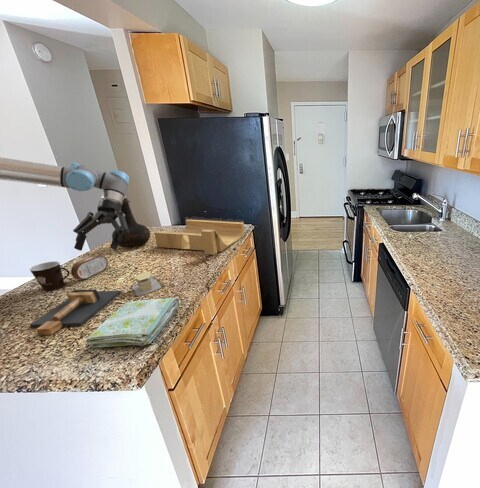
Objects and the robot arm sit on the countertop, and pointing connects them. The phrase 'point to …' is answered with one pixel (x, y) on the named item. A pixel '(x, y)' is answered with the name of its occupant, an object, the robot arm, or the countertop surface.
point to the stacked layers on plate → (145, 283)
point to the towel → (134, 323)
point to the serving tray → (78, 310)
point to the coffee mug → (49, 275)
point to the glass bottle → (132, 229)
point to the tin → (89, 267)
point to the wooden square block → (49, 327)
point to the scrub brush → (77, 301)
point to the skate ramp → (202, 236)
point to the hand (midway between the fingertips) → (95, 249)
